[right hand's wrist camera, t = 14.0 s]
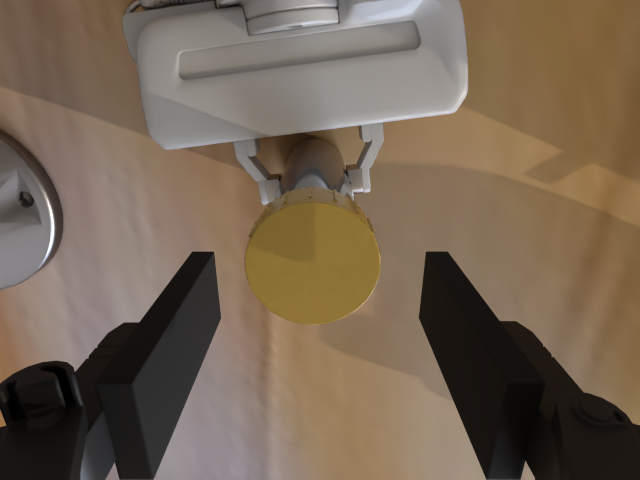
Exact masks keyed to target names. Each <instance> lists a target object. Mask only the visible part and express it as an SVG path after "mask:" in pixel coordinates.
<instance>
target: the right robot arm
mask: <svg viewBox="0 0 640 480" xmlns="http://www.w3.org/2000/svg"><path fill="white" fill-rule="evenodd" d="M62 232H63V214H62V208H61V204H60V200H59V197H58V194H57V192H56V189H55V187H54V185H53V183H52V181H51V179H50V178H49V176H48V174H47V173H46V171H45V170H44V168H43V167H42V165H41V164H40V163H39V162H38V161H37V159H36V158H35V157H34V156H33V155H32V154H31V153H30V152H29V151H28V150H27V149H26V148H25V147H24V146H23V145H22V144H21V143H19V142H18V141H17V140H15V139H14V138H13V137H12V136H10V135H9V134H7V133H6V132H4V131H2V130H1V129H0V290H2V289H6V288H9V287H12V286H15V285H17V284H19V283H22V282H23V281H25V280H27V279H28V278H30V277H31V276H32V275H34V274H35V273H37V272H38V271H40V270H41V269H42V268H43V267H45V266H46V265H47V264H48V263H49V262H50V260H51V259H52V258H53V257H54V255H55V253H56V251H57V249H58V247H59V245H60V241H61V238H62ZM220 319H221V313H220V304H219V294H218V285H217V276H216V267H215V257H214V252H192V253H191V254H190V256H189V257H188V258H187V260H186V261H185V262H184V264H183V265H182V266H181V268H180V269H179V270H178V272H177V273H176V274H175V276H174V277H173V278H172V280H171V281H170V282H169V284H168V285H167V286H166V288H165V289H164V290H163V292H162V293H161V294H160V296H159V297H158V298H157V300H156V301H155V302H154V304H153V305H152V306H151V308H150V309H149V310H148V312H147V313H146V314H145V316H144V317H143V318H142V320H141V321H140V322H139V323H123V324H121V325H120V326H118V327H117V328H115V329H114V330H112V331H111V332H109V333H108V334H107V335H106V336H105V337H104V339H103V340H102V341H101V342H100V343H99V345H98V347H97V348H95V349H94V351H93V352H92V353H91V354H90V355H89V359H86V360H85V361H84V362H83V364H82V365H81V366H80V367H79V368H78V370H77V371H76V372H75V371H74V368H73V366H71V365H70V364H69V363H67V362H61V361H49V362H42V363H39V364H35V365H32V366H29V367H26V368H24V369H22V370H20V371H18V372H16V373H14V374H12V375H11V376H10V377H8V378H7V379H6V380H4V381H3V382H2V383H1V384H0V410H1V412H2V415H3V418H4V420H5V423H6V425H7V426H3V427H0V480H105V479H106V477H107V475H108V474H109V472H110V470H111V468H112V466H113V464H114V462H115V464H116V468H117V471H118V475H119V479H120V480H154V477H155V475H156V472H157V470H158V468H159V465H160V463H161V460H162V458H163V456H164V453H165V451H166V449H167V446H168V444H169V441H170V439H171V437H172V434H173V432H174V429H175V427H176V425H177V422H178V420H179V417H180V415H181V413H182V410H183V408H184V405H185V403H186V401H187V398H188V396H189V393H190V391H191V389H192V386H193V384H194V382H195V379H196V377H197V374H198V372H199V370H200V367H201V365H202V362H203V360H204V358H205V355H206V353H207V350H208V348H209V346H210V343H211V341H212V338H213V336H214V334H215V331H216V329H217V326H218V324H219V322H220ZM419 319H420V322H421V324H422V326H423V329H424V331H425V334H426V336H427V338H428V341H429V343H430V346H431V348H432V350H433V353H434V355H435V358H436V360H437V362H438V365H439V367H440V370H441V372H442V374H443V377H444V379H445V382H446V384H447V386H448V389H449V391H450V393H451V396H452V398H453V401H454V403H455V405H456V408H457V410H458V413H459V415H460V417H461V420H462V422H463V425H464V427H465V429H466V432H467V434H468V437H469V439H470V441H471V444H472V446H473V449H474V451H475V453H476V456H477V458H478V460H479V463H480V465H481V468H482V470H483V472H484V475H485V477H486V480H520V479H521V475H522V471H523V468H524V464H525V460H526V462H527V464H528V466H529V468H530V470H531V471H532V473H533V475H534V477H535V480H640V425H636V424H633V423H632V422H631V421H630V419H629V418H628V416H627V415H626V414H625V413H624V412H623V411H621V410H620V409H619V408H618V407H617V406H615V405H614V404H612V403H610V402H608V401H606V400H605V399H603V398H601V397H598V396H595V395H592V394H589V393H584V392H583V391H582V390H581V389H580V388H579V387H578V385H577V384H576V383H575V382H574V381H573V379H572V378H571V377H570V376H569V375H568V374H567V372H566V371H565V370H564V369H563V368H562V366H561V365H560V364H559V363H558V362H557V361H556V359H555V358H554V357H552V356H551V353H550V352H549V351H548V350H547V349H546V348H545V347H543V344H542V343H541V342H540V341H539V339H538V338H537V337H536V336H535V335H534V333H533V332H532V331H530V330H529V329H527V328H525V327H524V326H522V325H521V324H519V323H518V322H516V321H499V320H498V318H497V317H496V316H495V314H494V313H493V312H492V310H491V309H490V308H489V306H488V305H487V304H486V302H485V301H484V300H483V298H482V297H481V296H480V294H479V293H478V292H477V290H476V289H475V288H474V286H473V285H472V284H471V282H470V281H469V280H468V278H467V277H466V276H465V274H464V273H463V272H462V270H461V269H460V268H459V266H458V265H457V264H456V262H455V261H454V260H453V258H452V257H451V256H450V254H449V253H448V252H426V257H425V267H424V276H423V285H422V294H421V304H420V313H419Z"/></svg>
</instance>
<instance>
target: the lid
mask: <svg viewBox="0 0 640 480" xmlns="http://www.w3.org/2000/svg"><path fill="white" fill-rule="evenodd" d="M374 233H375V232H374V229H373V226H372V224H371V221H370V219H369V218H367V217H366V215H365V214H364V212H363V211H362V210H361V209H360V207H359V206H358V205H357V203H356V201H355V200H354V201H352V200H351V199H349V198H348V197H346V196H345V195H343V194H341V193H339V192H336V190H335V189H333V190H330V189H326V188H319V187H312V186H310V187H306V188H300V189H296V190H292V191H290V192H289V190H288V191H286V193H285V194H283V195H281V196H280V197H278V198H276V199H275V200H274V201H273V202H271V203H268V204H267V206H266V208H265V210H264V211H263V213H262V214H261V215H260V217H259V219H258V221H255V223H254V226H253V228H252V230H251V232H250V235H249V237H251V238H250V240H249V243H248V246H247V249H246V254H245V272H246V276H247V280H248V283H249V285H250V287H251V289H252V291H253V293H254V294H255V296H256V297H257V298H258V300H259V301H260V302H261V303H262V304H263V305H264V306H265V307H266V308H267V309H269V310H270V311H271V312H273V313H274V314H276V315H278V316H280V317H282V318H284V319H286V320H289V321H292V322H296V323H301V324H324V323H329V322H333V321H337V320H339V319H342V318H344V317H346V316H348V315H350V314H351V313H353V312H354V311H356V310H357V309H358V308H359V307H361V306H362V305H363V304H364V303H365V301H366V300H367V299H368V298H369V296H370V295H371V294H372V292H373V290H374V288H375V286H376V284H377V281H378V278H379V273H380V263H381V261H380V255H381V253H380V250H379V247H378V245H377V242H376V239H375V237H374Z"/></svg>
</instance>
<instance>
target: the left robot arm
mask: <svg viewBox="0 0 640 480" xmlns="http://www.w3.org/2000/svg"><path fill="white" fill-rule="evenodd" d="M177 5H180V6H177ZM140 6H141V7H142V8H143V9H144V10H145V11H138V12H134V11H135V10H136V9H137V8H138V7H140ZM170 6H173V7H170ZM122 27H123V31H124V35H125V39H126V42H127V46H128V50H129V53H130V55H131V57H132V59H133V61H134V62H135V63H136V65H137V74H138V82H139V90H140V96H141V103H142V108H143V113H144V118H145V122H146V127H147V131H148V133H149V136H150V137H151V138H152V139H153V140H154V141H155V142H156V143H157V144H159V145H160V146H161V147H162V148H163V149H166V150H171V149H179V148H186V147H194V146H202V145H210V144H218V143H225V142H233V144H234V149H235V154H236V159H237V160H238V161H239V162H240V164H241V165H242V166H243V167H244V168H245V169H246V171H247V172H248V173H249V174H250V175H251V176H252V178H253V179H254V180H255V181H258V186H259V191H260V197H261V202H262V204H263V205H267V204H268V203H271V202H272V201H273V198H274V195H275V192H276V190H277V187H278V184H279V182H280V179H281V174H271V175H270V174H269V172H268V171H267V170H266V169H265V167H264V166H263V165H262V163H261V162H260V161H259V160H258V158H257V157H256V155H257V153H258V152H259V151H260V150H261V148H260V142H259V138H264V137H272V136H280V135H288V134H296V133H304V132H311V131H319V130H327V129H335V128H343V127H350V126H358V127H359V136H360V138H361V139H362V141H363V142H366V143H365V146H364V148H363V150H362V153H361V155H360V157H359V159H358V162H357V164H352V165H346V172H347V176H348V179H349V182H350V185H351V188H352V191H353V194H357V193H365V192H370V176H369V167H371V166H372V164H373V161H374V159H375V157H376V155H377V153H378V151H379V149H380V147H381V145H382V143H383V141H384V137H383V122H389V121H397V120H405V119H413V118H421V117H428V116H436V115H444V114H451V113H454V112H455V111H456V110H457V109H458V108H459V106H460V105H461V103H462V102H463V100H464V99H465V97H466V95H467V91H468V58H467V45H466V34H465V26H464V18H463V12H462V8H461V4H460V1H459V0H133V1H132V2H131V3H130V4H129V5H128V7H127V8H126V10H125V12H124V15H123V17H122Z"/></svg>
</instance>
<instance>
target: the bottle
mask: <svg viewBox="0 0 640 480" xmlns="http://www.w3.org/2000/svg"><path fill="white" fill-rule="evenodd" d="M310 186H312V187H319V188H326V189H330V190H333V189H335V190H336V192H339V193H341V194H343V195H345V196H346V197H348V198H349V199H351V200H352V201H354V200H355V198H354V195H353V191H352V188H351V185H350V182H349V179H348V176H347V172H346V169H345V166H344V163H343V160H342V157H341V154H340V152H339V151H338V149H337V148H336V147H335V146H334V145H333V144H331V143H330V142H328V141H326V140H323V139H319V138H311V139H307V140H304V141H302V142H300V143H299V144H297V145H296V146H295V147H294V148H293V150H292V151H291V153H290V155H289V157H288V160H287V163H286V166H285V168H284V171H283V174H282V176H281V179H280V182H279V184H278V187H277V190H276V192H275V195H274V198H273V201H274V200H275V199H276V198H278V197H280V196H281V195H283V194H285V193H286V191H288V190H289V192H290V191H292V190H296V189H300V188H306V187H310ZM273 201H272V202H273Z"/></svg>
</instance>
